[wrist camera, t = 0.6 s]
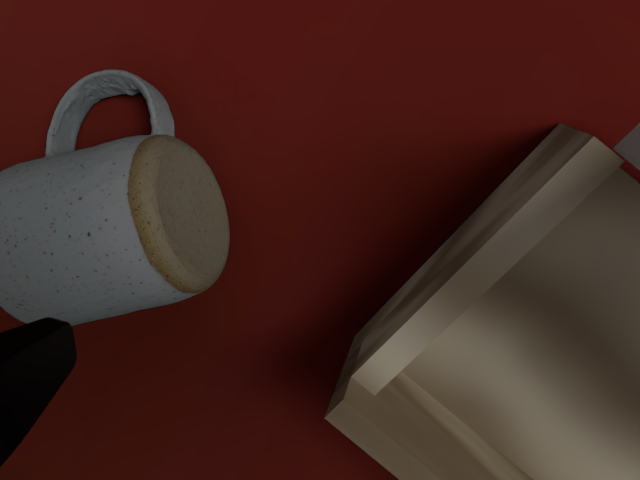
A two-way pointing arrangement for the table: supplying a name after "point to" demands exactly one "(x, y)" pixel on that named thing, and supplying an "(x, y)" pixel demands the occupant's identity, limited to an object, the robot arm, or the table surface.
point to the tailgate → (630, 147)
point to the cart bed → (513, 335)
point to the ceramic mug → (109, 216)
